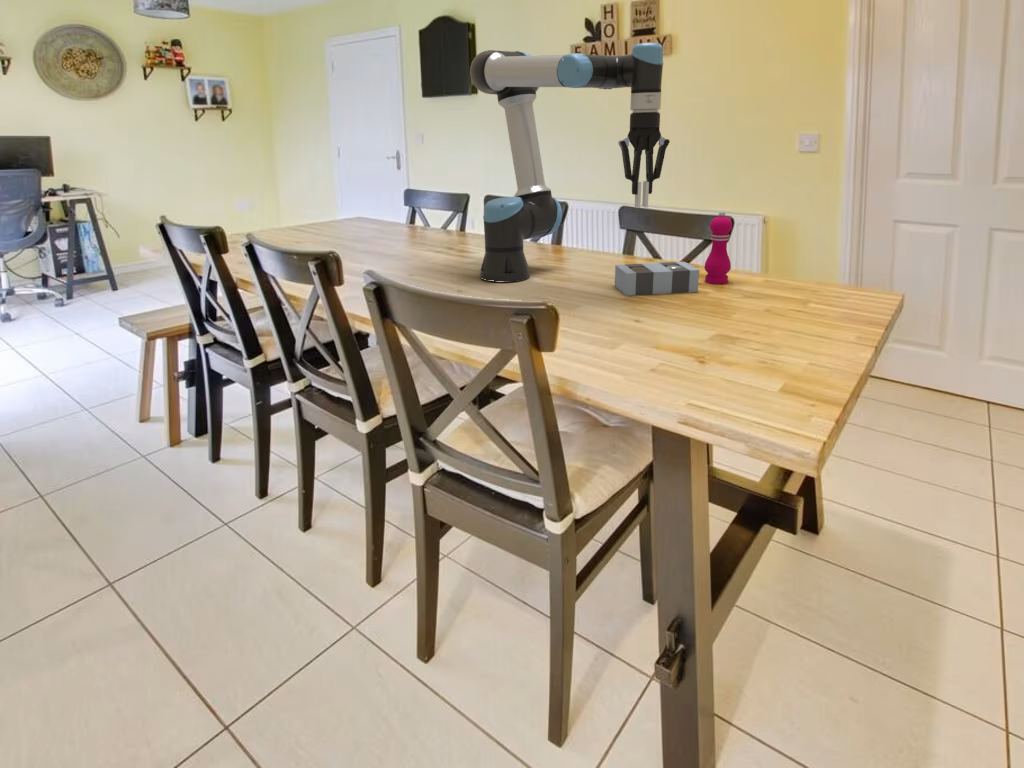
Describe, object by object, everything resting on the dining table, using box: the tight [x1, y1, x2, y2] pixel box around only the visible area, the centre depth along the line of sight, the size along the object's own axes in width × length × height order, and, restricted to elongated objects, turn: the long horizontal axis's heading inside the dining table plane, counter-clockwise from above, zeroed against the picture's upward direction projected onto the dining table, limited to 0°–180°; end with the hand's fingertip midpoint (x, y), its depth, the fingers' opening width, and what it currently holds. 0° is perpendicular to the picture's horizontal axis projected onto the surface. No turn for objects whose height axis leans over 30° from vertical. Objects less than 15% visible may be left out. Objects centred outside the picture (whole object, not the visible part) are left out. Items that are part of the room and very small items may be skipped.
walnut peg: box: [631, 267, 646, 270], centre depth 186 cm, size 4×4×6 cm
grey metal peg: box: [667, 265, 681, 269], centre depth 187 cm, size 4×4×6 cm
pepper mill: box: [704, 210, 733, 285], centre depth 190 cm, size 7×7×20 cm
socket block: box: [614, 261, 700, 297], centre depth 186 cm, size 20×12×6 cm, turn 96°
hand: (641, 206), depth 179 cm, fingers closed
